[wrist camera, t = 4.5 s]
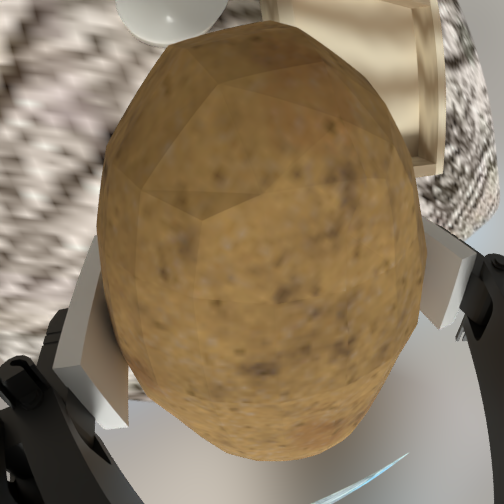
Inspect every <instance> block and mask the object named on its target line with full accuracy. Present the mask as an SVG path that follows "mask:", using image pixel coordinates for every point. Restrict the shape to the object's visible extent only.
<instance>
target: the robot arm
mask: <svg viewBox="0 0 504 504" xmlns="http://www.w3.org/2000/svg"><path fill="white" fill-rule="evenodd" d="M421 216H422V215H421ZM422 222H423V228H424V234H425V240H426V248H427V259H426V266H425V273H424V280H423V287H422V295H421V302H420V309H419V310H420V311H421V312H422V313H423V314H424V315H425V316H426V317H427V318H428V319H429V320H430V321H431V322H432V323H433V324H434V325H435V326H436V327H437V329H438V330H441V329H442V328H444V327H446V326H448V325H450V324H452V323H454V321H455V318H456V316H457V313H458V311H459V308H460V309H461V310H462V311H463V312H464V313H465V315H464V318H463V320H462V323H461V325H460V328H459V330H458V332H457V335H456V341H459V339H460V337H461V335H462V332H464V331H465V334H464V336H463V339H462V341H468V344H469V348H470V351H471V355H472V359H473V362H474V366H475V370H476V374H477V378H478V382H479V386H480V391H481V396H482V401H483V405H484V411H485V416H486V422H487V428H488V434H489V442H490V450H491V459H492V469H493V483H494V504H504V256H502V255H500V254H494V253H493V254H488V255H486V256H485V257H484V256H483V255H481V254H480V253H479V252H478V251H476V250H475V249H473V248H472V247H471V246H469V245H468V244H466V243H465V242H464V241H462V240H461V239H458V237H456V236H455V235H453V234H451V232H449V231H448V230H446V229H445V228H443V227H442V226H439V225H437V224H434V223H433V222H431V221H430V220H428V219H427V218H425V217H424V216H422ZM46 334H47V336H45V339H44V342H43V344H44V346H42V349H41V352H40V356H39V359H38V363H37V366H36V365H35V364H34V362H33V361H32V360H31V358H29V357H27V356H25V355H22V356H15V357H13V358H10V359H9V360H7V361H6V362H5V363H4V364H2V365H1V367H0V397H1V398H2V399H3V400H4V401H5V402H6V403H7V404H8V405H9V406H10V407H8V408H5V409H3V410H0V504H144V503H143V501H142V500H141V499H140V497H139V496H138V495H137V493H136V492H135V491H134V489H133V488H132V486H131V485H130V484H129V482H128V481H127V479H126V478H125V477H124V475H123V473H122V472H121V470H120V469H119V467H118V466H117V464H116V463H115V461H114V460H113V458H112V457H111V455H110V453H109V452H108V450H107V448H106V447H105V445H104V443H103V442H102V440H101V439H100V437H99V436H98V435H97V434H96V433H95V420H96V421H97V422H98V423H99V424H100V425H101V427H102V428H103V429H114V428H124V427H129V425H128V363H127V361H126V360H125V358H124V356H123V354H122V352H121V350H120V348H119V345H118V343H117V341H116V338H115V335H114V331H113V327H112V323H111V319H110V315H109V311H108V307H107V303H106V298H105V293H104V286H103V280H102V272H101V265H100V257H99V248H98V238H97V235H95V236H94V239H93V241H92V244H91V246H90V249H89V251H88V254H87V256H86V259H85V262H84V264H83V267H82V270H81V273H80V275H79V278H78V281H77V284H76V287H75V290H74V293H73V296H72V299H71V302H70V305H69V308H66V309H62V310H58V312H57V313H56V314H55V316H54V317H53V318H52V320H51V321H50V323H49V326H48V329H47V333H46ZM6 471H8V472H9V473H10V482H9V481H7V476H6Z"/></svg>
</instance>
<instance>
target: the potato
mask: <svg viewBox="0 0 504 504" xmlns="http://www.w3.org/2000/svg"><path fill="white" fill-rule="evenodd" d="M96 227H97V238H98V248H99V257H100V265H101V272H102V280H103V286H104V293H105V298H106V303H107V307H108V311H109V315H110V319H111V323H112V327H113V331H114V335H115V338H116V341H117V343H118V345H119V348H120V350H121V352H122V354H123V356H124V358H125V360H126V361H127V363H128V365H129V367H130V368H131V370H132V372H133V373H134V375H135V377H136V378H137V380H138V382H139V383H140V385H141V387H142V388H143V390H144V391H145V393H146V395H147V396H148V397H149V398H150V399H152V400H153V401H154V402H156V403H157V404H158V405H160V406H161V407H162V408H164V409H165V410H166V411H168V412H169V413H171V414H172V415H173V416H175V417H176V418H178V419H179V420H180V421H181V422H183V423H184V424H185V425H187V426H188V427H189V428H190V429H192V430H193V431H194V432H196V433H197V434H198V435H200V436H201V437H202V438H204V439H206V440H207V441H209V442H210V443H212V444H213V445H215V446H216V447H218V448H220V449H221V450H223V451H224V452H226V453H229V454H232V455H236V456H240V457H244V458H248V459H252V460H256V461H288V460H298V459H302V458H306V457H310V456H314V455H317V454H320V453H321V452H323V451H325V450H327V449H329V448H331V447H333V446H334V445H336V444H338V443H340V442H341V441H343V440H344V439H345V438H346V437H347V436H349V435H350V434H351V433H352V432H353V430H354V429H355V428H356V427H357V425H358V424H359V423H360V421H361V420H362V419H363V417H364V416H365V414H366V413H367V411H368V410H369V408H370V406H371V405H372V403H373V401H374V400H375V398H376V396H377V395H378V393H379V391H380V390H381V388H382V386H383V384H384V382H385V380H386V379H387V377H388V375H389V373H390V371H391V369H392V367H393V365H394V363H395V361H396V360H397V358H398V356H399V354H400V352H401V351H402V349H403V348H404V346H405V344H406V343H407V341H408V339H409V338H410V336H411V334H412V332H413V331H414V329H415V327H416V325H417V322H418V316H419V309H420V302H421V295H422V287H423V280H424V273H425V266H426V259H427V248H426V240H425V234H424V228H423V222H422V216H421V210H420V204H419V197H418V191H417V185H416V179H415V173H414V168H413V163H412V158H411V155H410V153H409V150H408V148H407V146H406V144H405V142H404V139H403V137H402V135H401V133H400V131H399V129H398V127H397V125H396V123H395V121H394V119H393V117H392V115H391V113H390V111H389V109H388V107H387V105H386V104H385V102H384V101H383V100H382V98H381V97H380V96H379V94H378V93H377V92H376V90H375V89H374V88H373V86H372V85H371V84H370V82H369V81H368V80H367V79H366V77H364V76H363V75H362V74H361V73H360V72H358V71H357V70H356V69H355V68H353V67H352V66H351V65H350V64H348V63H347V62H346V61H345V60H343V59H342V58H341V57H339V56H338V55H337V54H335V53H334V52H333V51H331V50H330V49H329V48H327V47H326V46H324V45H323V44H322V43H320V42H319V41H317V40H316V39H314V38H313V37H312V36H310V35H309V34H307V33H306V32H304V31H303V30H301V29H299V28H297V27H294V26H290V25H287V24H283V23H279V22H275V21H271V20H269V21H263V22H257V23H252V24H247V25H242V26H237V27H232V28H228V29H224V30H219V31H215V32H211V33H208V34H204V35H200V36H197V37H193V38H190V39H186V40H183V41H180V42H177V43H174V44H171V45H168V47H167V48H166V49H165V51H164V52H163V54H162V55H161V56H160V58H159V59H158V61H157V62H156V64H155V65H154V67H153V68H152V70H151V71H150V73H149V74H148V76H147V77H146V79H145V80H144V82H143V83H142V85H141V87H140V88H139V90H138V91H137V93H136V95H135V96H134V98H133V100H132V101H131V103H130V105H129V106H128V108H127V110H126V111H125V113H124V115H123V117H122V118H121V120H120V122H119V124H118V126H117V127H116V129H115V131H114V133H113V135H112V137H111V139H110V140H109V142H108V144H107V146H106V152H105V158H104V165H103V172H102V179H101V187H100V195H99V204H98V214H97V226H96Z"/></svg>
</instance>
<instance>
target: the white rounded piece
mask: <svg viewBox="0 0 504 504" xmlns="http://www.w3.org/2000/svg"><path fill="white" fill-rule="evenodd" d="M115 3H116V9H117V12H118V14H119V16H120V18H121V20H122V21H123V23H124V25H125V26H126V28H127V29H128V31H129V32H130V33H131V35H132V36H134V37H135V38H136V39H137V40H139V41H140V42H142V43H144V44H147V45H149V46H153V47H158V48H167V47H168V45H171V44H174V43H177V42H180V41H183V40H186V39H190V38H193V37H197V36H200V35H204V34H206V33H207V32H208V31H209V30H210V29H211V27H212V26H213V25H214V23H215V22H216V21H217V19H218V18H219V17H220V15H221V14H222V12H223V11H224V9H225V7H226V5H227V3H228V0H115Z"/></svg>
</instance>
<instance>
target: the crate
mask: <svg viewBox="0 0 504 504" xmlns="http://www.w3.org/2000/svg"><path fill="white" fill-rule="evenodd" d="M260 7H261V15H262V22H263V21H269V20H271V21H275V22H279V23H283V24H287V25H290V26H294V27H297V28H299V29H301V30H303V31H304V32H306V33H307V34H309V35H310V36H312V37H313V38H314V39H316V40H317V41H319V42H320V43H322V44H323V45H324V46H326V47H327V48H329V49H330V50H331V51H333V52H334V53H335V54H337V55H338V56H339V57H341V58H342V59H343V60H345V61H346V62H347V63H348V64H350V65H351V66H352V67H353V68H355V69H356V70H357V71H358V72H360V73H361V74H362V75H363V76H364V77H366V79H367V80H368V81H369V82H370V84H371V85H372V86H373V88H374V89H375V90H376V92H377V93H378V94H379V96H380V97H381V98H382V100H383V101H384V102H385V104H386V105H387V107H388V109H389V111H390V113H391V115H392V117H393V119H394V121H395V123H396V125H397V127H398V129H399V131H400V133H401V135H402V137H403V139H404V142H405V144H406V146H407V148H408V150H409V153H410V155H411V158H412V163H413V168H414V173H415V178H417V177H423V176H430V175H437V174H443V164H444V150H445V129H446V82H445V62H444V49H443V38H442V30H441V22H440V14H439V8H438V2H437V0H260Z"/></svg>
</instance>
